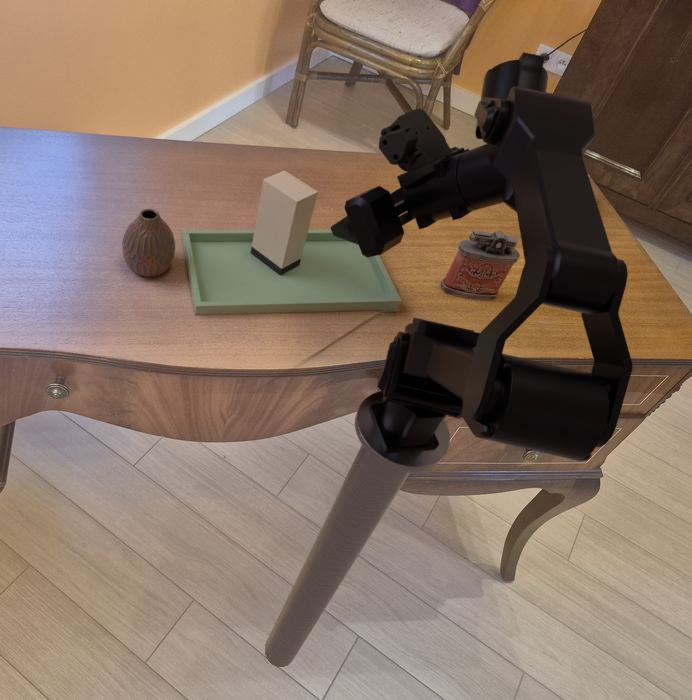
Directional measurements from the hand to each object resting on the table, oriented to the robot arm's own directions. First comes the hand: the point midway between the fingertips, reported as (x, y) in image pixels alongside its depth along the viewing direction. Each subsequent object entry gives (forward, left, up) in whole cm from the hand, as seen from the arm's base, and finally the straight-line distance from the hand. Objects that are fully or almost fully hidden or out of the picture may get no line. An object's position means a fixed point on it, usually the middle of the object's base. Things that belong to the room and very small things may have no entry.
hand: (357, 217), depth 73 cm
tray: (+5, +5, -14) cm, 16 cm away
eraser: (+8, +6, -13) cm, 17 cm away
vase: (+7, +24, -14) cm, 29 cm away
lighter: (+1, -21, -14) cm, 25 cm away
